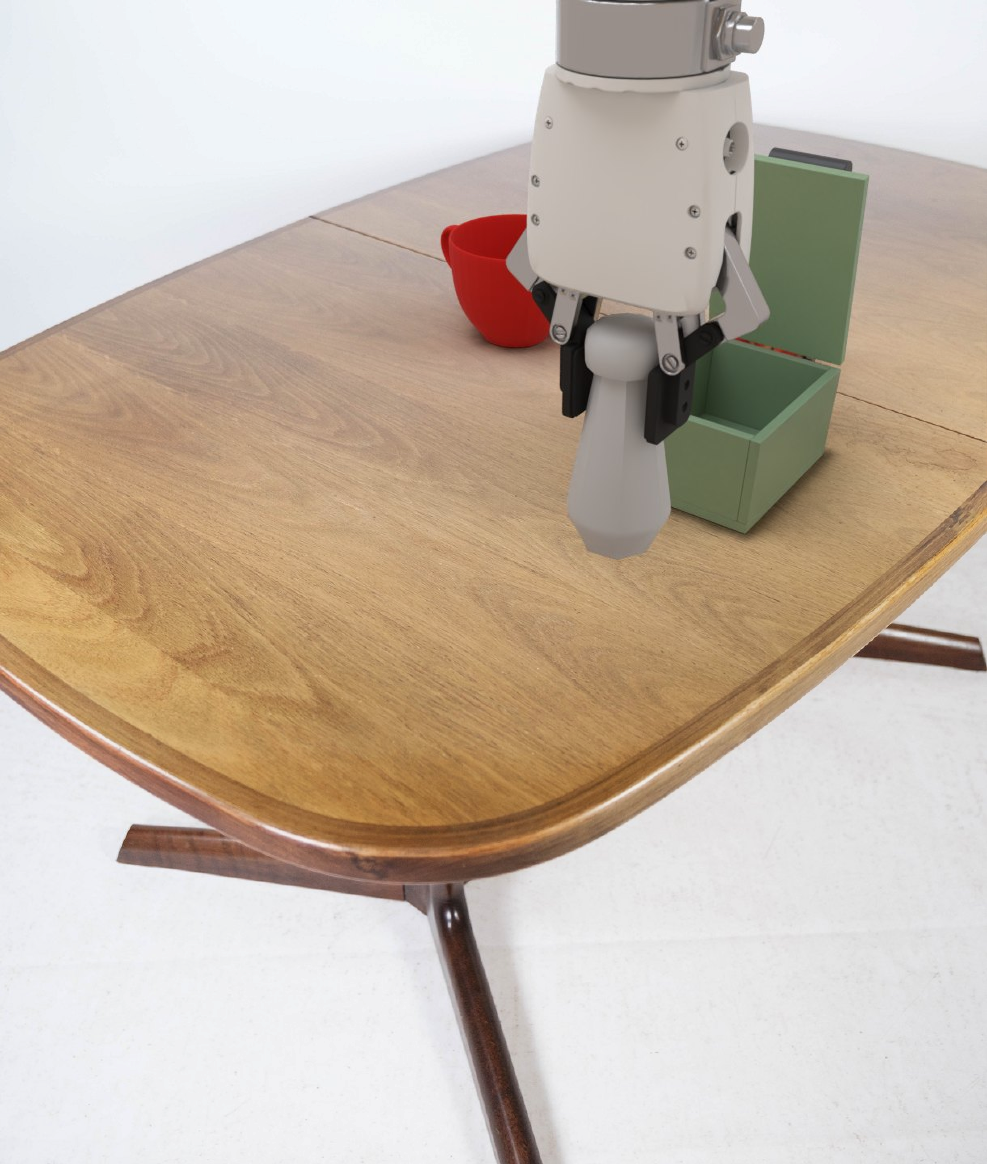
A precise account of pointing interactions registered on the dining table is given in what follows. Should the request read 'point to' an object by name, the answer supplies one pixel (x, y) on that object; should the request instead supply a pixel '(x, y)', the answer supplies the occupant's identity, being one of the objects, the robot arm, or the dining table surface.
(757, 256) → the lid
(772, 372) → the holder
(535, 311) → the ceramic cup
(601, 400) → the salt shaker
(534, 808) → the dining table surface
